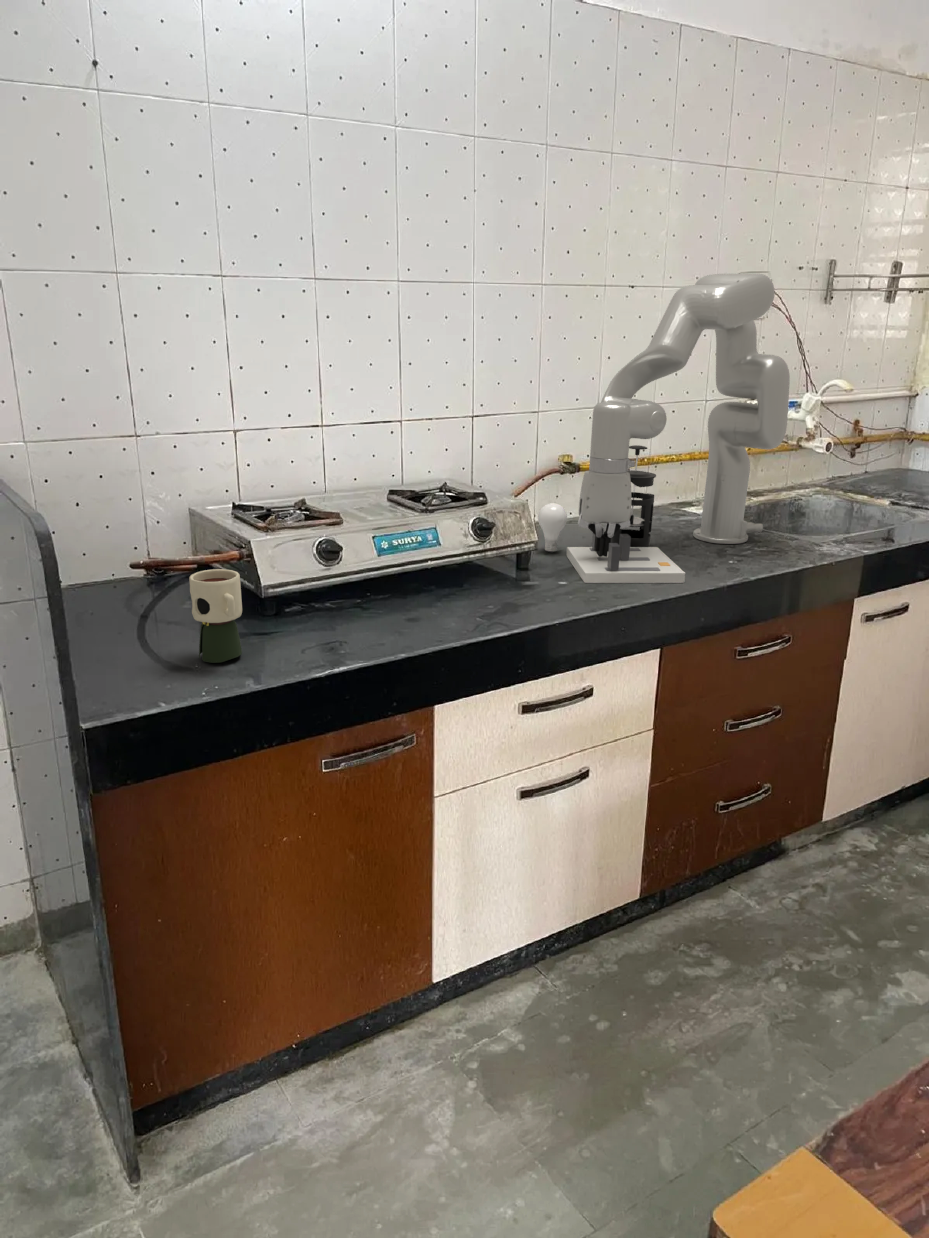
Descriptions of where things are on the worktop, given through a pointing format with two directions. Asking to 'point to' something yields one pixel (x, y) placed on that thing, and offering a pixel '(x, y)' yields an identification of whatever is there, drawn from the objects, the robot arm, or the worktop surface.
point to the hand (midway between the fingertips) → (601, 554)
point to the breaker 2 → (613, 556)
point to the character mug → (217, 613)
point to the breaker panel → (626, 566)
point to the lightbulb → (552, 524)
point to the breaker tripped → (624, 546)
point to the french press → (645, 522)
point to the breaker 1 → (594, 538)
